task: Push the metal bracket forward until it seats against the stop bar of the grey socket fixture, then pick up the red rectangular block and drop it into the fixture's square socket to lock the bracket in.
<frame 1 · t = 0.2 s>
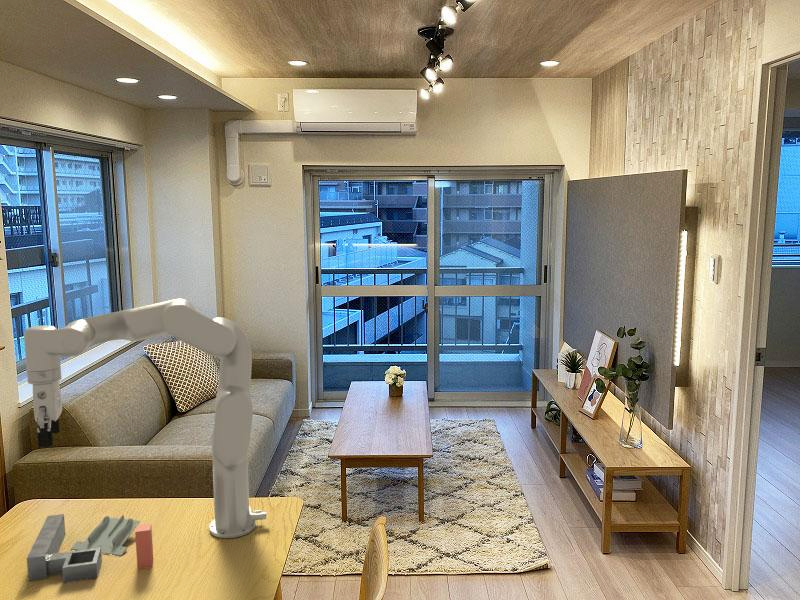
hand: (49, 439, 166), 31 cm above the table, tool pointing down, fingers open, 9 cm apart
red rectangular block: (145, 564, 164), on the table
metal bracket: (110, 543, 176), on the table
grey socket fixture: (57, 558, 167), on the table
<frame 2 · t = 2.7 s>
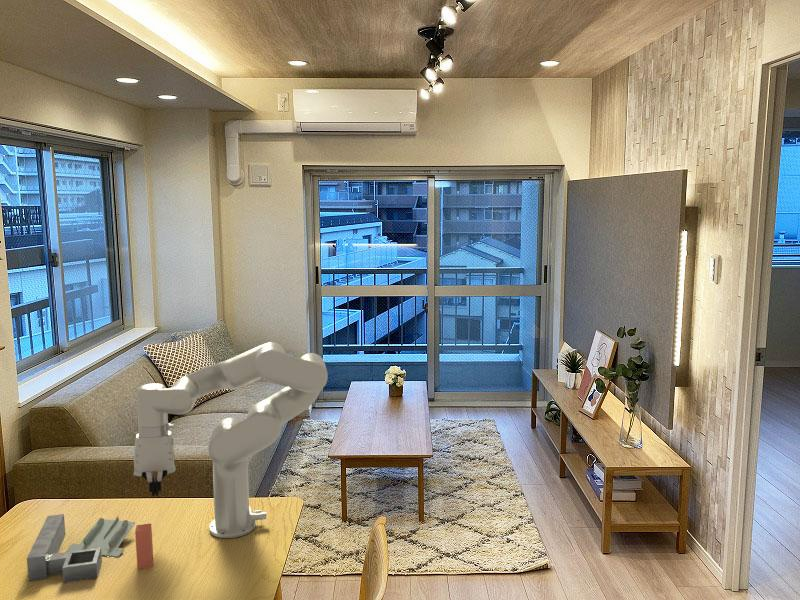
hand: (155, 493, 177), 12 cm above the table, tool pointing down, fingers closed
metal bracket: (106, 545, 175), on the table
everything else where it was.
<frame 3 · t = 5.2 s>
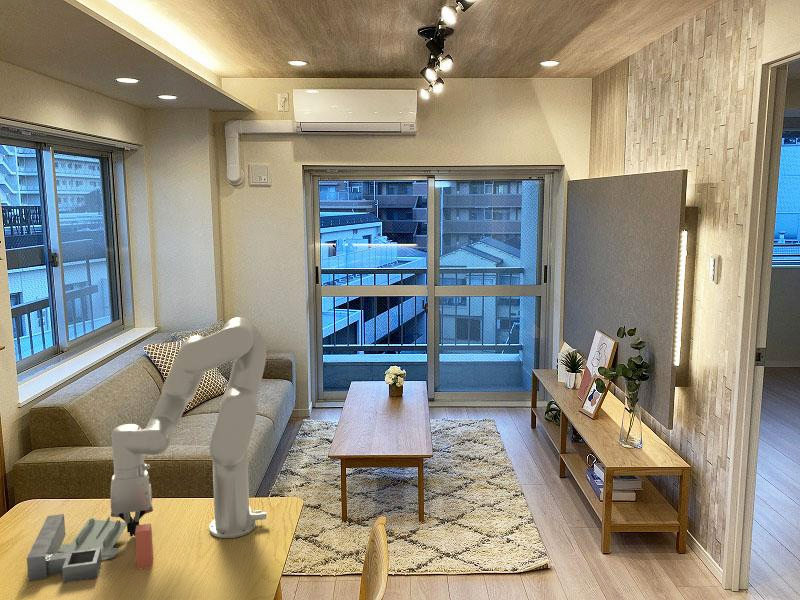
hand: (133, 533, 177), 1 cm above the table, tool pointing down, fingers closed
metal bracket: (97, 545, 173), on the table, touching gripper
everything else where it was.
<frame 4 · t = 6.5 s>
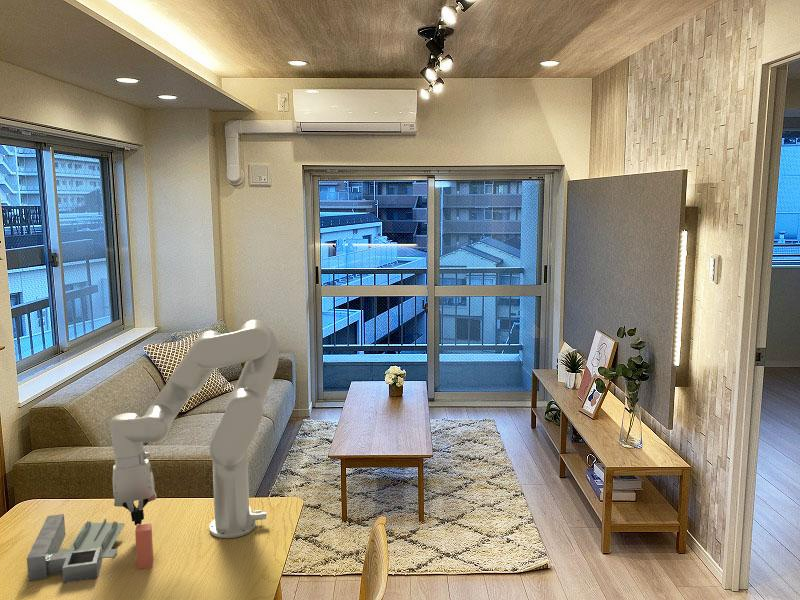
hand: (138, 522, 177), 4 cm above the table, tool pointing down, fingers closed
metal bracket: (96, 547, 173), on the table
everything else where it was.
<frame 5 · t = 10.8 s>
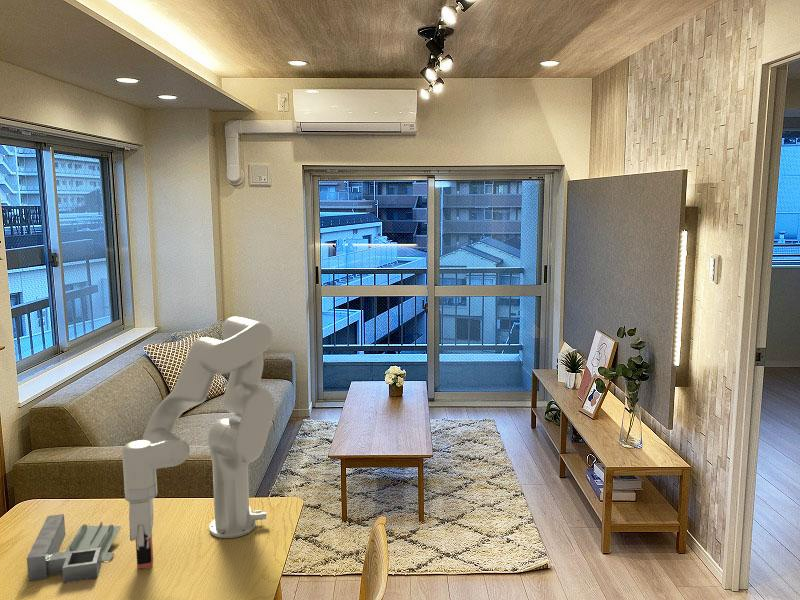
hand: (145, 557, 164), 2 cm above the table, tool pointing down, fingers closed on red rectangular block, 3 cm apart
red rectangular block: (145, 564, 164), on the table, touching gripper
metal bracket: (92, 551, 172), on the table
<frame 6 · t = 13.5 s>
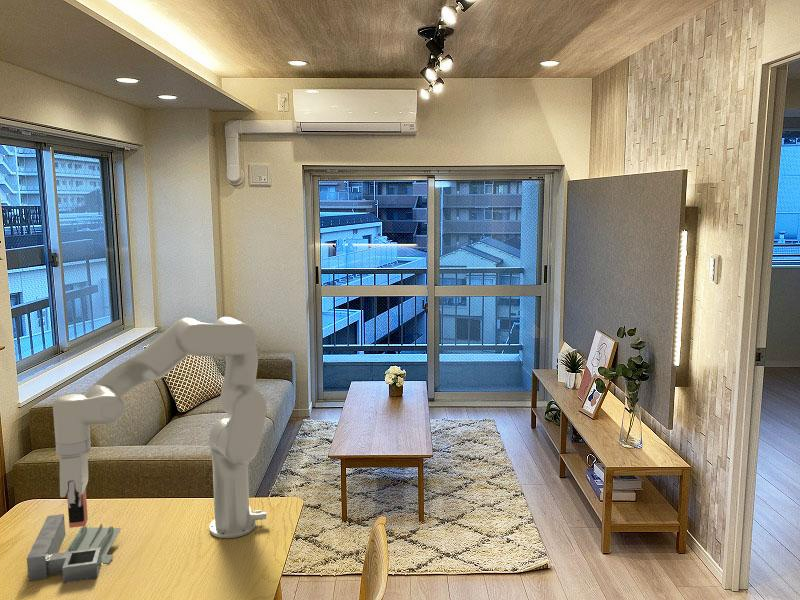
hand: (78, 516, 158), 15 cm above the table, tool pointing down, fingers closed on red rectangular block, 3 cm apart
red rectangular block: (78, 523, 159), point 13 cm above the table, touching gripper
metal bracket: (91, 553, 171), on the table
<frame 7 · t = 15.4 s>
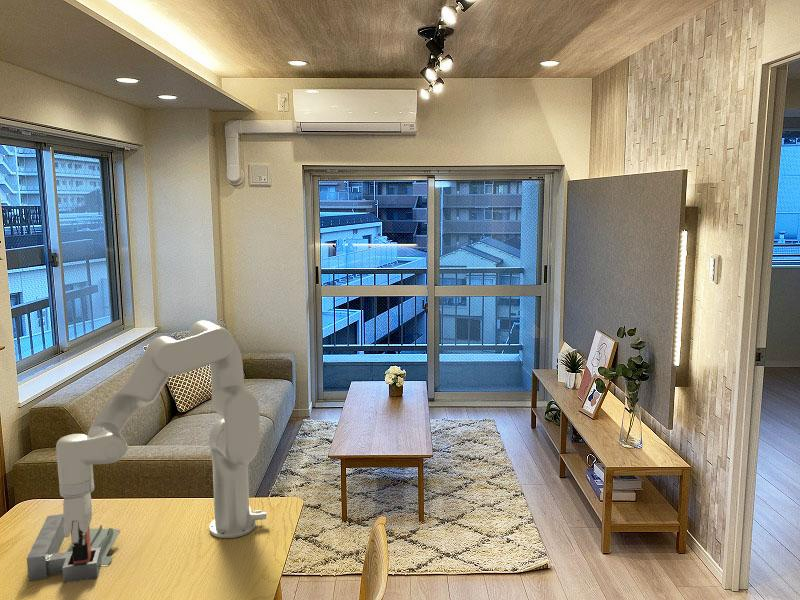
hand: (82, 554, 160), 5 cm above the table, tool pointing down, fingers closed on red rectangular block, 3 cm apart
red rectangular block: (82, 561, 160), point 3 cm above the table, touching gripper
everything else where it was.
when the fingers open (5 cm above the table, at t = 15.4 s): red rectangular block drops 3 cm, resting in grey socket fixture.
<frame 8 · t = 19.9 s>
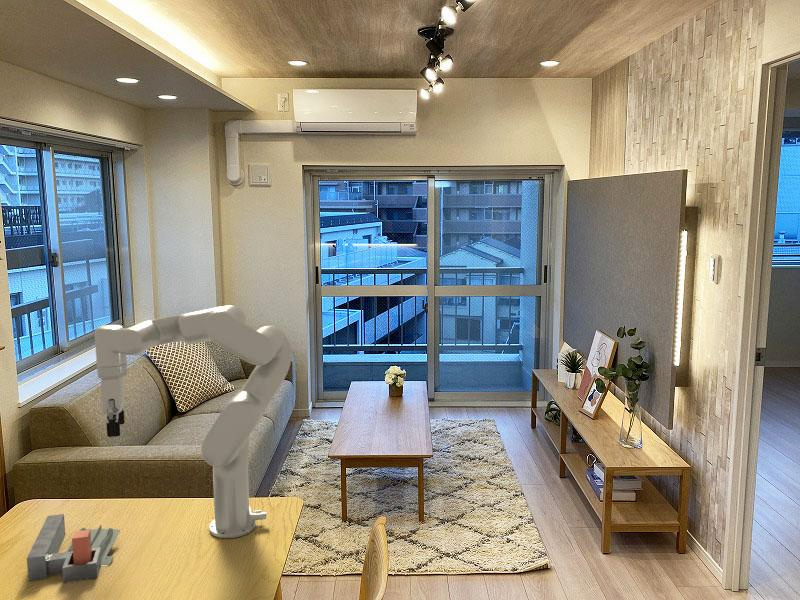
hand: (116, 430, 180), 28 cm above the table, tool pointing down, fingers open, 9 cm apart
red rectangular block: (84, 571, 161), resting in grey socket fixture
everything else where it was.
at the end: metal bracket inside the target area (4.7 cm from its centre), on the table; red rectangular block 0.4 cm from the target spot on the grey socket fixture, point 0.0 cm above the grey socket fixture's base; red rectangular block tilted 0° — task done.
